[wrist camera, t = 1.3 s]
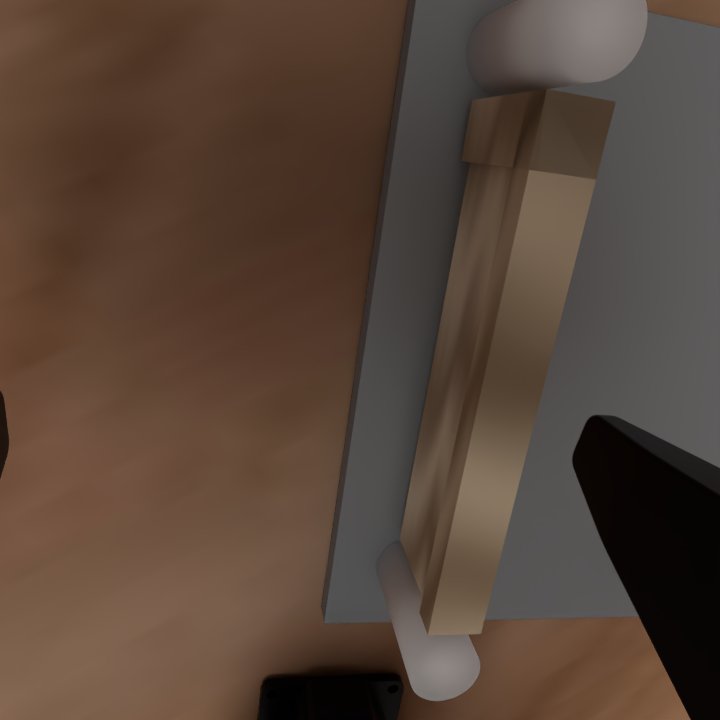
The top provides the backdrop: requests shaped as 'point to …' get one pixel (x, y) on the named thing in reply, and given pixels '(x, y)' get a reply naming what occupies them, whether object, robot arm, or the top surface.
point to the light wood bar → (496, 339)
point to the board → (580, 313)
